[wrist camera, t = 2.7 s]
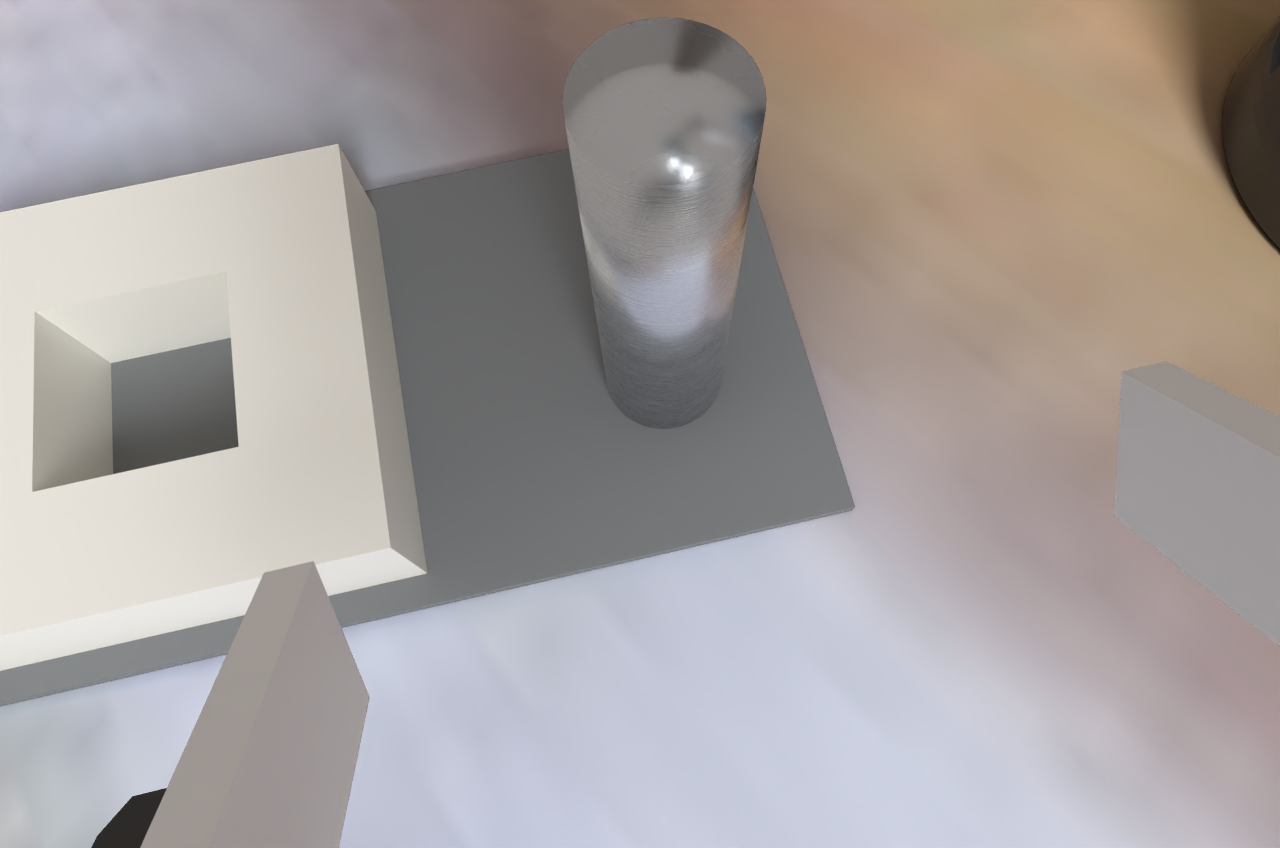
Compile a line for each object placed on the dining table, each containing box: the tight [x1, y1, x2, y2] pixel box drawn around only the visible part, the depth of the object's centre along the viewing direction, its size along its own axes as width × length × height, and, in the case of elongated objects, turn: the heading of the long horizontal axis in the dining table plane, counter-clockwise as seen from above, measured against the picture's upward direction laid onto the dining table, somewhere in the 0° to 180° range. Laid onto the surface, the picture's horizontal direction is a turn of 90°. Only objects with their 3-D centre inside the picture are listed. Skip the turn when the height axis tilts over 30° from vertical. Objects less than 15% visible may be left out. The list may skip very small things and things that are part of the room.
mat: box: [0, 149, 855, 706], centre depth 31 cm, size 30×16×1 cm, turn 103°
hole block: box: [0, 144, 427, 671], centre depth 28 cm, size 14×14×4 cm
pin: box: [562, 18, 766, 429], centre depth 24 cm, size 4×4×14 cm
